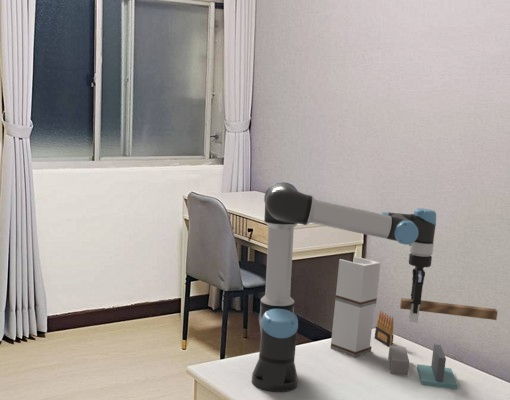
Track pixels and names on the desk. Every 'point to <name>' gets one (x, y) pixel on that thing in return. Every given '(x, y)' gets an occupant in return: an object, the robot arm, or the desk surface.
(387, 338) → the ammunition clip
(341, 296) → the tall open-top box
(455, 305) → the walnut rod
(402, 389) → the desk surface
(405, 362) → the riser block
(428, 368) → the stand
